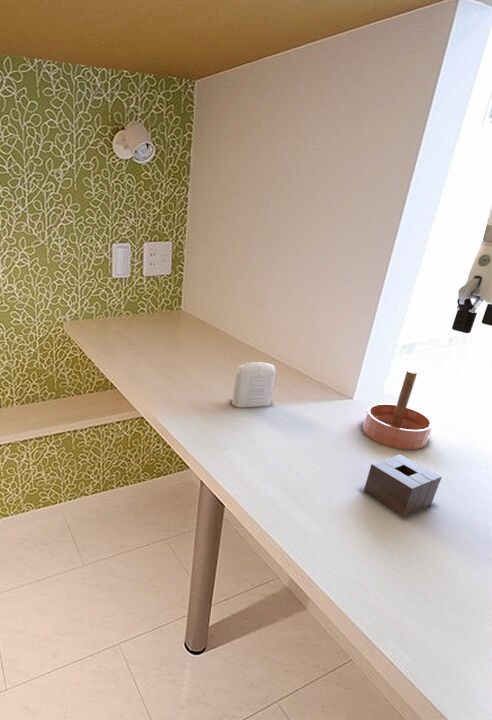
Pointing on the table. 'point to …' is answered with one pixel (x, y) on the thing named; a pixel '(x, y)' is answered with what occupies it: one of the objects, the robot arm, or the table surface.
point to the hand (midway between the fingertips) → (475, 328)
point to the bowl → (394, 436)
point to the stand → (402, 484)
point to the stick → (403, 398)
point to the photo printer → (253, 384)
